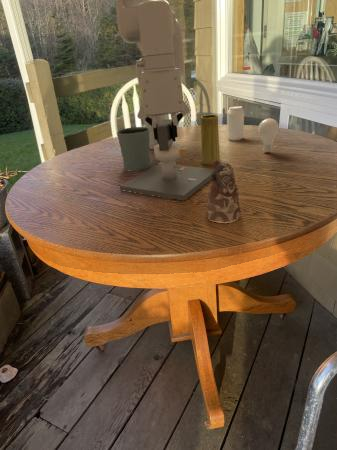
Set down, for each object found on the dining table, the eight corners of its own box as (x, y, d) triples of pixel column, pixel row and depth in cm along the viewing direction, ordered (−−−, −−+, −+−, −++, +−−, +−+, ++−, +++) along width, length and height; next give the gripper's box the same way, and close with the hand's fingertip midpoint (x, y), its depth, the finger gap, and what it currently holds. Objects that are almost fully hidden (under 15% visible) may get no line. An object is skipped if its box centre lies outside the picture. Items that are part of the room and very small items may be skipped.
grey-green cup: (116, 169, 106) (110, 132, 100) (139, 160, 112) (134, 125, 107) (137, 174, 100) (131, 135, 94) (159, 164, 106) (155, 127, 100)
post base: (120, 190, 88) (116, 166, 85) (160, 168, 103) (157, 146, 99) (183, 201, 78) (181, 173, 75) (217, 174, 93) (217, 150, 89)
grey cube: (152, 162, 84) (147, 127, 79) (158, 153, 91) (154, 120, 87) (184, 161, 82) (182, 125, 78) (188, 151, 90) (186, 118, 86)
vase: (224, 160, 103) (223, 114, 97) (212, 166, 100) (211, 118, 93) (208, 158, 107) (207, 113, 100) (197, 163, 103) (194, 117, 97)
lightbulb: (275, 149, 109) (277, 115, 104) (279, 154, 103) (281, 119, 98) (256, 150, 110) (257, 117, 105) (258, 156, 104) (260, 121, 99)
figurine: (217, 227, 65) (215, 170, 59) (200, 214, 71) (197, 161, 65) (246, 218, 67) (248, 163, 62) (228, 206, 73) (227, 155, 68)
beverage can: (227, 137, 129) (227, 106, 124) (243, 136, 128) (243, 105, 122) (227, 141, 124) (227, 109, 118) (244, 140, 123) (244, 107, 117)
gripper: (123, 67, 73) (135, 148, 81) (195, 60, 73) (199, 140, 82) (124, 67, 79) (135, 141, 88) (190, 60, 80) (194, 134, 88)
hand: (166, 140), depth 85 cm, fingers closed on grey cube, 3 cm apart
